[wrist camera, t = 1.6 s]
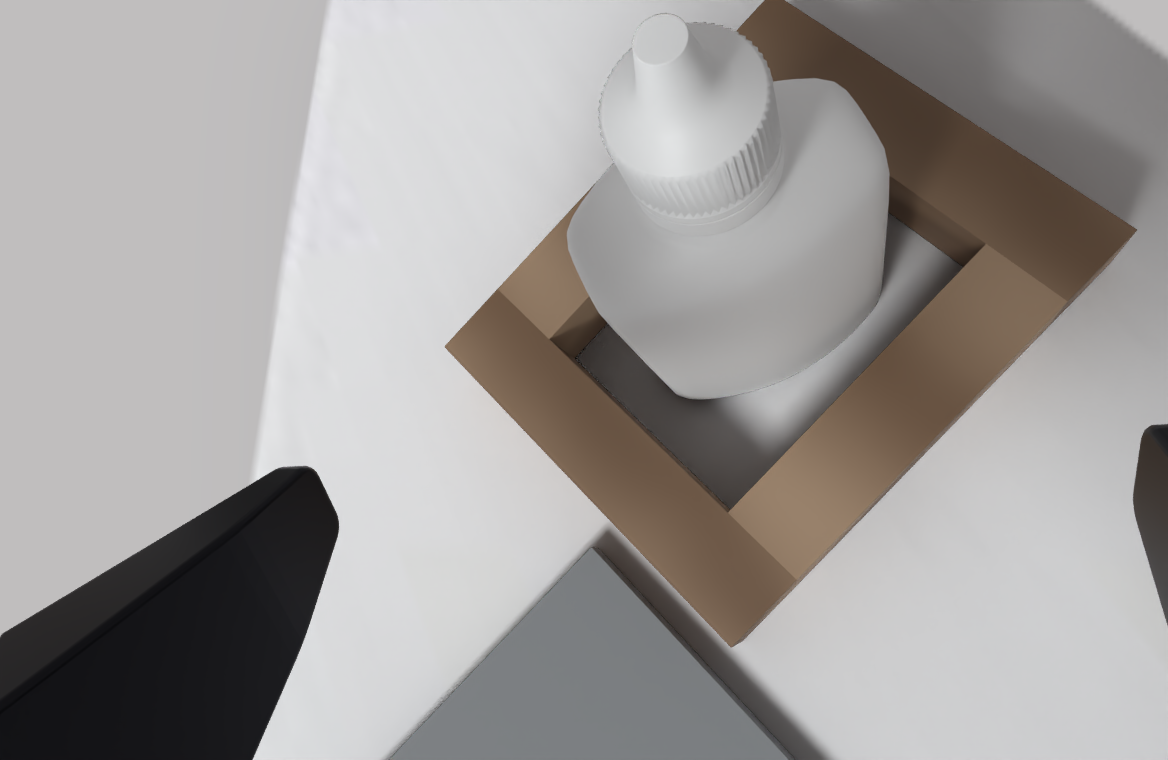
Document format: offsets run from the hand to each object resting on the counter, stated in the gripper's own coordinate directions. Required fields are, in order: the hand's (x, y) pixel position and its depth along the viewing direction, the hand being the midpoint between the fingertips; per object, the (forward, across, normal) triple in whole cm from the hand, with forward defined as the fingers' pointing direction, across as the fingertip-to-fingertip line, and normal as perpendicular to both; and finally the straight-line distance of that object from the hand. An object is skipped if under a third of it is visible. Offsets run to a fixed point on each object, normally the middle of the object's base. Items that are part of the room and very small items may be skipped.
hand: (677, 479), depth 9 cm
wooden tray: (+12, 0, +5) cm, 13 cm away
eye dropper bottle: (+12, 0, +5) cm, 13 cm away
